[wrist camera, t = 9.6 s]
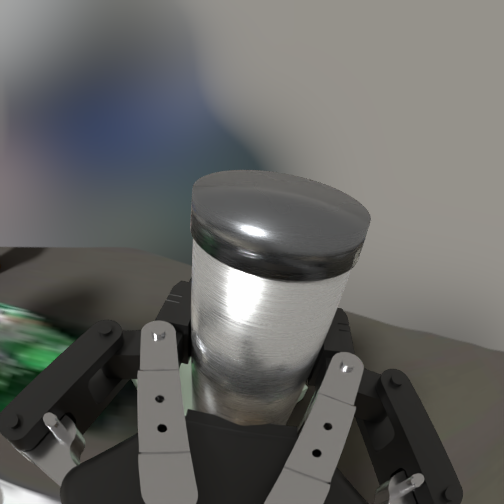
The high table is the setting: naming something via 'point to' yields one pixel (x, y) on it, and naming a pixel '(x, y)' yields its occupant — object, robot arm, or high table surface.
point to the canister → (265, 287)
